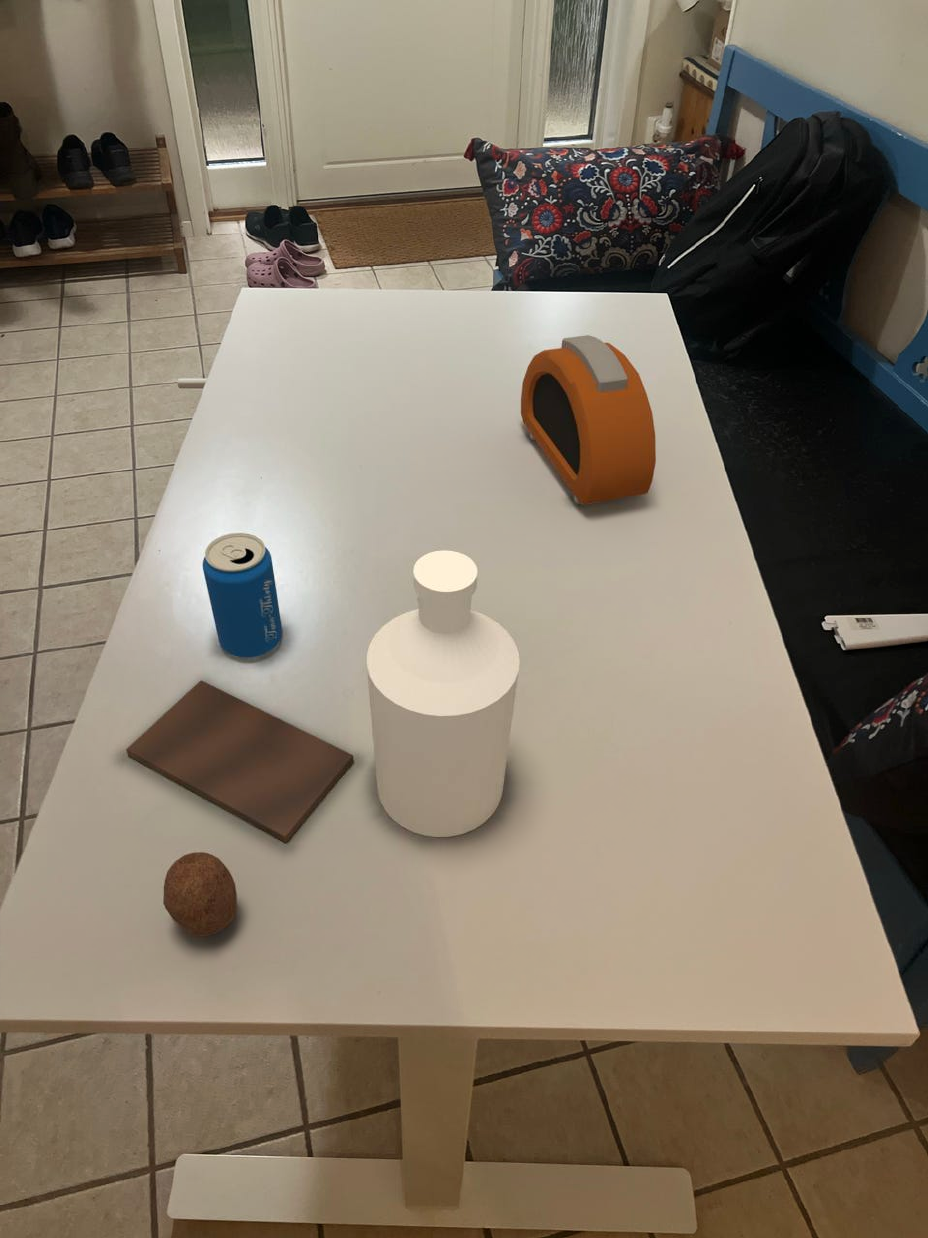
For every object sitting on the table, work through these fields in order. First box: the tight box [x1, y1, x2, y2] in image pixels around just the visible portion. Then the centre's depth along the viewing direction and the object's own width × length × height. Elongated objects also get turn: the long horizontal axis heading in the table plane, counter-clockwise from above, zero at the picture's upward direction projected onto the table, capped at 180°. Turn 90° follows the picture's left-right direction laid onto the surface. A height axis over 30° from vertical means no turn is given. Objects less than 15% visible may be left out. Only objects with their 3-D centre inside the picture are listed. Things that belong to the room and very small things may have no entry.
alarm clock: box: [520, 334, 657, 506], centre depth 112 cm, size 23×9×17 cm, turn 18°
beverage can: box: [202, 532, 283, 659], centre depth 88 cm, size 6×6×12 cm
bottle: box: [366, 550, 521, 838], centre depth 71 cm, size 12×12×25 cm
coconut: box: [162, 851, 238, 937], centre depth 67 cm, size 5×5×8 cm
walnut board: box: [125, 680, 355, 844], centre depth 81 cm, size 18×10×1 cm, turn 61°
